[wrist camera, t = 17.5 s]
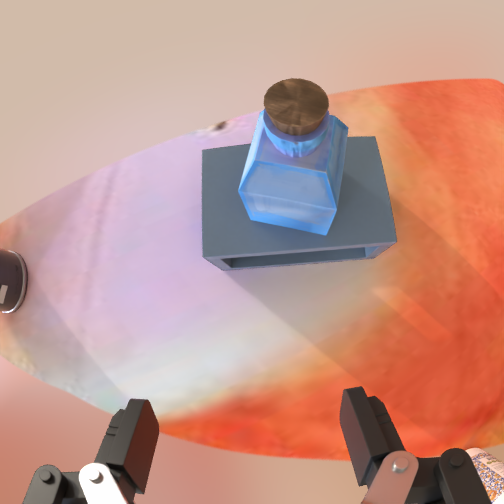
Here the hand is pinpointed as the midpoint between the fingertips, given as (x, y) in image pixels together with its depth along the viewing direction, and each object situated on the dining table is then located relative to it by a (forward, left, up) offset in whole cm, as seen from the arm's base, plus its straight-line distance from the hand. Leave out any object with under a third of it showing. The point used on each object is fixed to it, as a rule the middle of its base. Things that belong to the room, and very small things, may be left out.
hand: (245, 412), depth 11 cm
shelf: (+3, +14, -19) cm, 24 cm away
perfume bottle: (+3, +14, -12) cm, 19 cm away
